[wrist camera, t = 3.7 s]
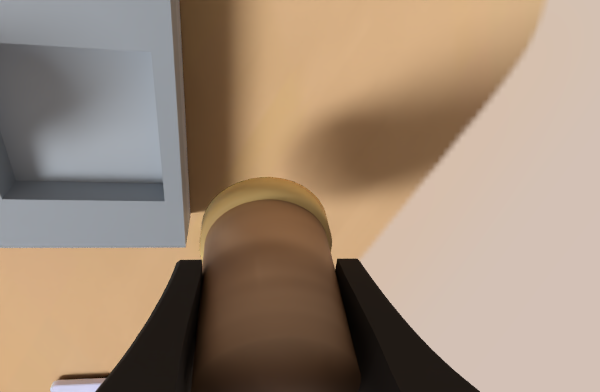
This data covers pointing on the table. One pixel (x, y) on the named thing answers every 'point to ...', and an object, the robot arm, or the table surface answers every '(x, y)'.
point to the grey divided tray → (92, 124)
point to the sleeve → (270, 295)
